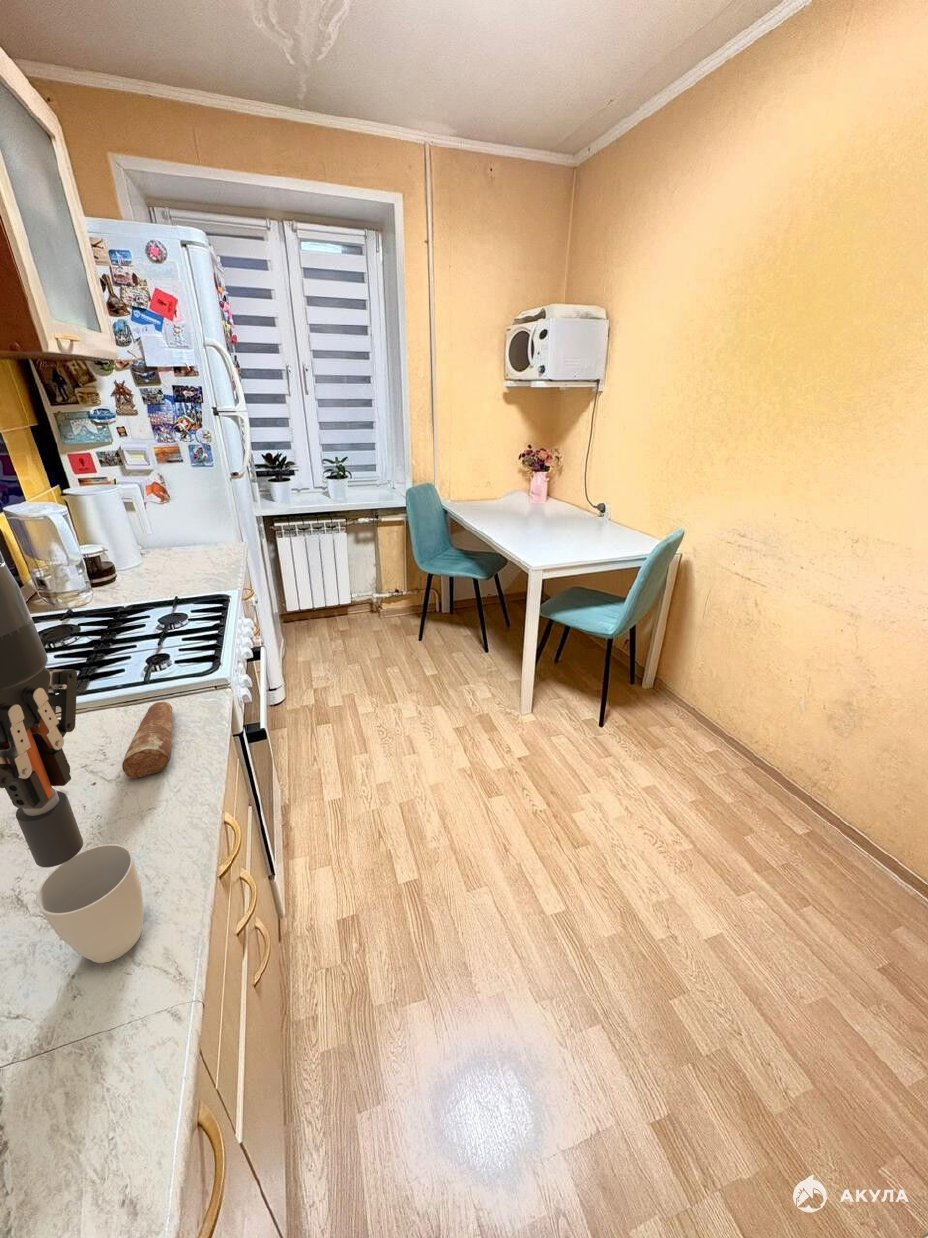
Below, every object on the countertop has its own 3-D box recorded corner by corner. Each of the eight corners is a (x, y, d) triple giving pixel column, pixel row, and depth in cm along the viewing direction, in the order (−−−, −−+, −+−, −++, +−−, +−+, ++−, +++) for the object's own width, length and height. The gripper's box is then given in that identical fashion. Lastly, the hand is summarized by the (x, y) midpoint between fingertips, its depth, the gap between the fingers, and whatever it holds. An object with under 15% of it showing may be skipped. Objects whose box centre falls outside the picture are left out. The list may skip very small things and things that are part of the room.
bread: (126, 787, 76) (115, 758, 74) (148, 719, 92) (139, 693, 90) (172, 776, 78) (163, 748, 76) (186, 711, 94) (178, 686, 92)
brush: (24, 863, 48) (-45, 707, 40) (60, 832, 51) (3, 683, 44) (58, 871, 47) (-5, 714, 40) (93, 839, 51) (40, 689, 43)
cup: (162, 895, 60) (139, 835, 55) (151, 961, 53) (123, 897, 49) (83, 919, 57) (52, 857, 53) (59, 992, 50) (22, 927, 46)
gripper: (-3, 593, 45) (62, 746, 52) (-184, 671, 33) (-66, 858, 40) (79, 593, 45) (133, 746, 52) (-71, 670, 33) (27, 858, 40)
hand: (46, 793), depth 46 cm, fingers closed on brush, 2 cm apart
